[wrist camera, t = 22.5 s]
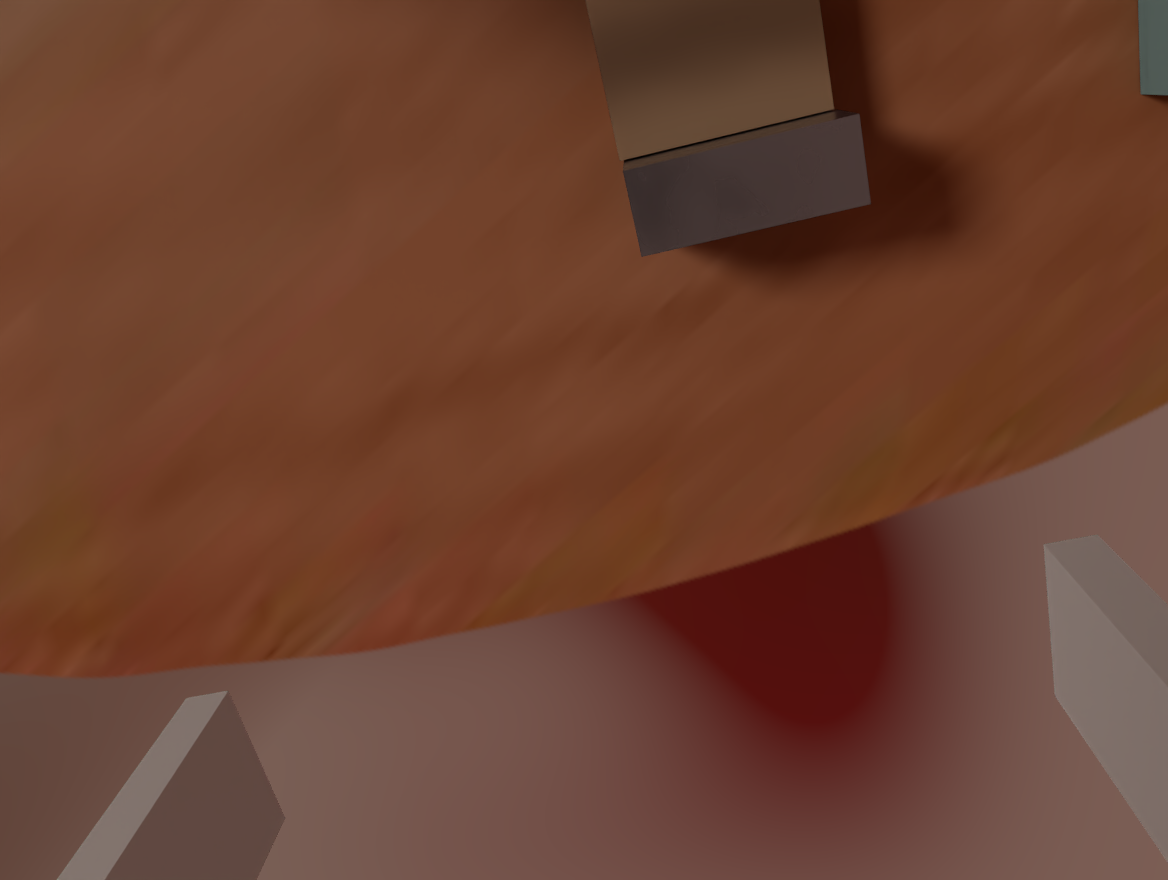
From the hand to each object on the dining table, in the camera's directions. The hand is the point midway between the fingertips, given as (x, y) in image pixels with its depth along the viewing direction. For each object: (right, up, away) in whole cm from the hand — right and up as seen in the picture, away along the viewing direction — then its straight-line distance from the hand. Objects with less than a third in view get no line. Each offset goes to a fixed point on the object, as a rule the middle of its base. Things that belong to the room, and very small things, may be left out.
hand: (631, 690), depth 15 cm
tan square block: (+4, +20, +21) cm, 29 cm away
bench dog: (+5, +15, +23) cm, 28 cm away
